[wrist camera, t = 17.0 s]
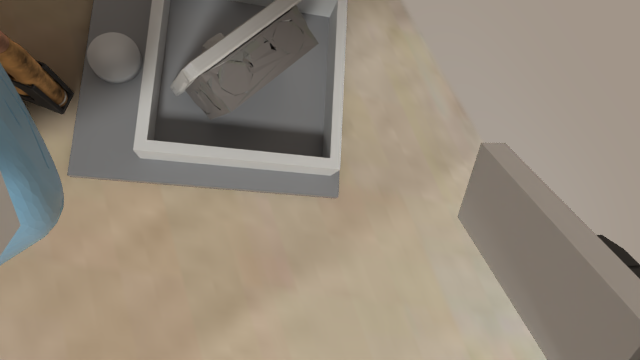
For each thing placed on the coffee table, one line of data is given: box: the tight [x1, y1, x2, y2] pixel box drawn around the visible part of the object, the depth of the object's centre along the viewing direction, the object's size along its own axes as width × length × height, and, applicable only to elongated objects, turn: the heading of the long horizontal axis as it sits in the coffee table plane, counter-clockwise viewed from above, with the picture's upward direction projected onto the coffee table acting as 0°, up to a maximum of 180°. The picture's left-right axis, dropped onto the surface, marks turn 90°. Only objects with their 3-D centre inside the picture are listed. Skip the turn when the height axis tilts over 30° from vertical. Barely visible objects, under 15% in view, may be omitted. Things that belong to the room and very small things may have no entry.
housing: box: [67, 0, 348, 198], centre depth 34 cm, size 20×18×4 cm
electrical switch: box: [170, 0, 319, 120], centre depth 31 cm, size 9×5×9 cm, turn 133°
